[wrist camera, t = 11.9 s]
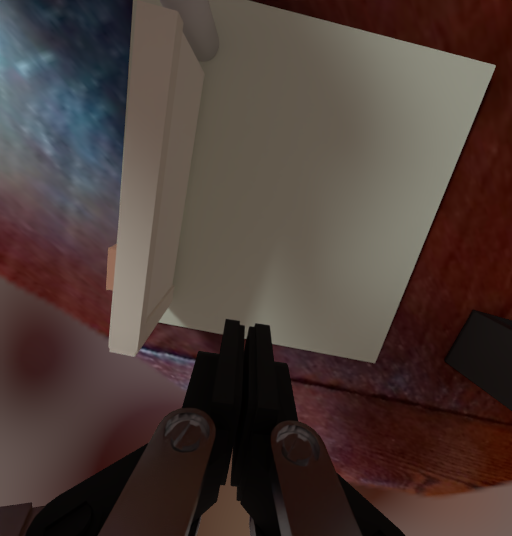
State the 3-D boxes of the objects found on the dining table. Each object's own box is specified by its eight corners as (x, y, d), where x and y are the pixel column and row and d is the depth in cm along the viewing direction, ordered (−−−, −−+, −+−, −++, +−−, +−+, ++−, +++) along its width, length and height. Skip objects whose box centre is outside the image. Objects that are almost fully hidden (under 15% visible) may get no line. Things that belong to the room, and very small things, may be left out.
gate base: (117, 308, 28) (27, 394, 17) (140, -20, 20) (0, -255, 9) (371, 357, 29) (438, 464, 19) (485, 70, 22) (720, -39, 11)
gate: (183, 67, 20) (136, -1, 12) (208, 74, 20) (178, 11, 13) (153, 297, 26) (108, 351, 18) (173, 301, 26) (136, 357, 18)
